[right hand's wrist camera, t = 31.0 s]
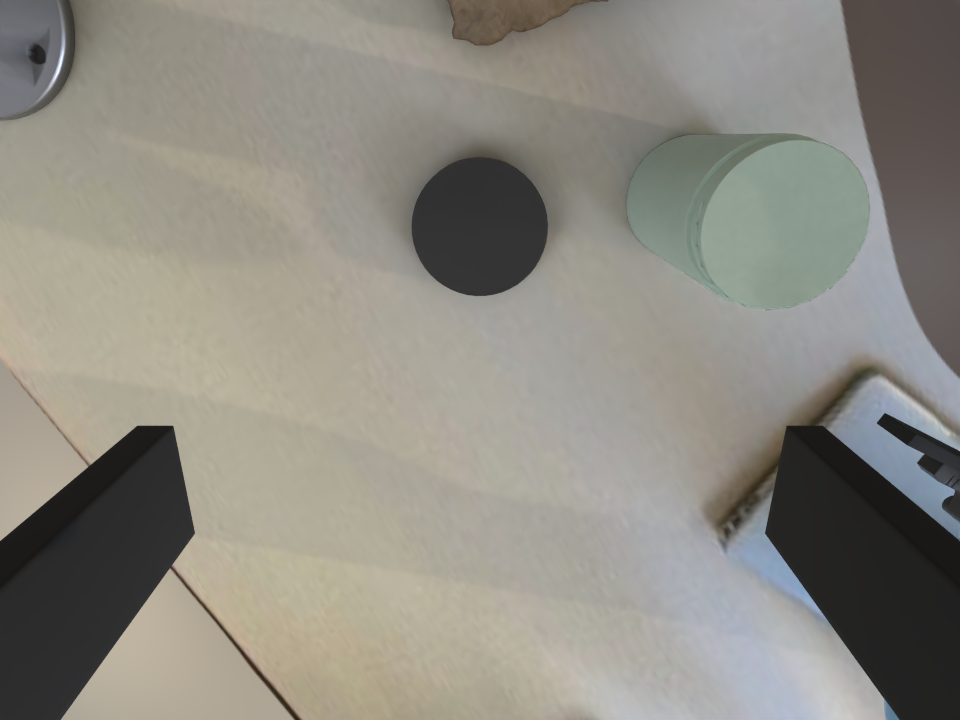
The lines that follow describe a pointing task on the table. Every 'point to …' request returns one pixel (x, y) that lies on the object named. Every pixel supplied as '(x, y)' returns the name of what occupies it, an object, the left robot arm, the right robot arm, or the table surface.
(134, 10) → the table surface
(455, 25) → the stone
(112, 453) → the right robot arm
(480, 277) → the lid
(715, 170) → the jar
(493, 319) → the table surface
